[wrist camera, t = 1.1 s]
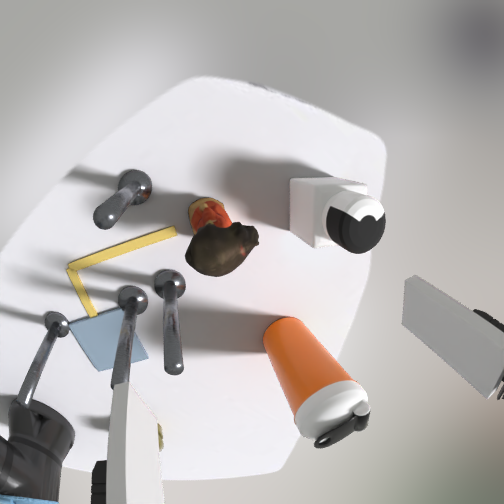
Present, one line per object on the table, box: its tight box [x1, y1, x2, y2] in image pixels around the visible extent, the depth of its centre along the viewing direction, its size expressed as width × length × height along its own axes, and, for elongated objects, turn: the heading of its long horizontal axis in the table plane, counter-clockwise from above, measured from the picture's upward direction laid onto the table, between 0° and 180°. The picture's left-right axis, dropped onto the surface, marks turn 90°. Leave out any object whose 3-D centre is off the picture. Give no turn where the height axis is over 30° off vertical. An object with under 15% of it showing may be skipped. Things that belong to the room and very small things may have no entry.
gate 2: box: [93, 170, 186, 375], centre depth 26 cm, size 4×17×16 cm, turn 14°
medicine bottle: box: [290, 177, 386, 254], centre depth 32 cm, size 7×7×12 cm
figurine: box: [185, 198, 259, 277], centre depth 29 cm, size 6×6×12 cm
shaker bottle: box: [263, 317, 370, 448], centre depth 35 cm, size 9×9×20 cm
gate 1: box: [16, 286, 148, 409], centre depth 27 cm, size 17×4×16 cm, turn 104°
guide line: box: [66, 226, 177, 318], centre depth 34 cm, size 16×8×1 cm, turn 104°
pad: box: [69, 308, 148, 372], centre depth 36 cm, size 9×9×1 cm
